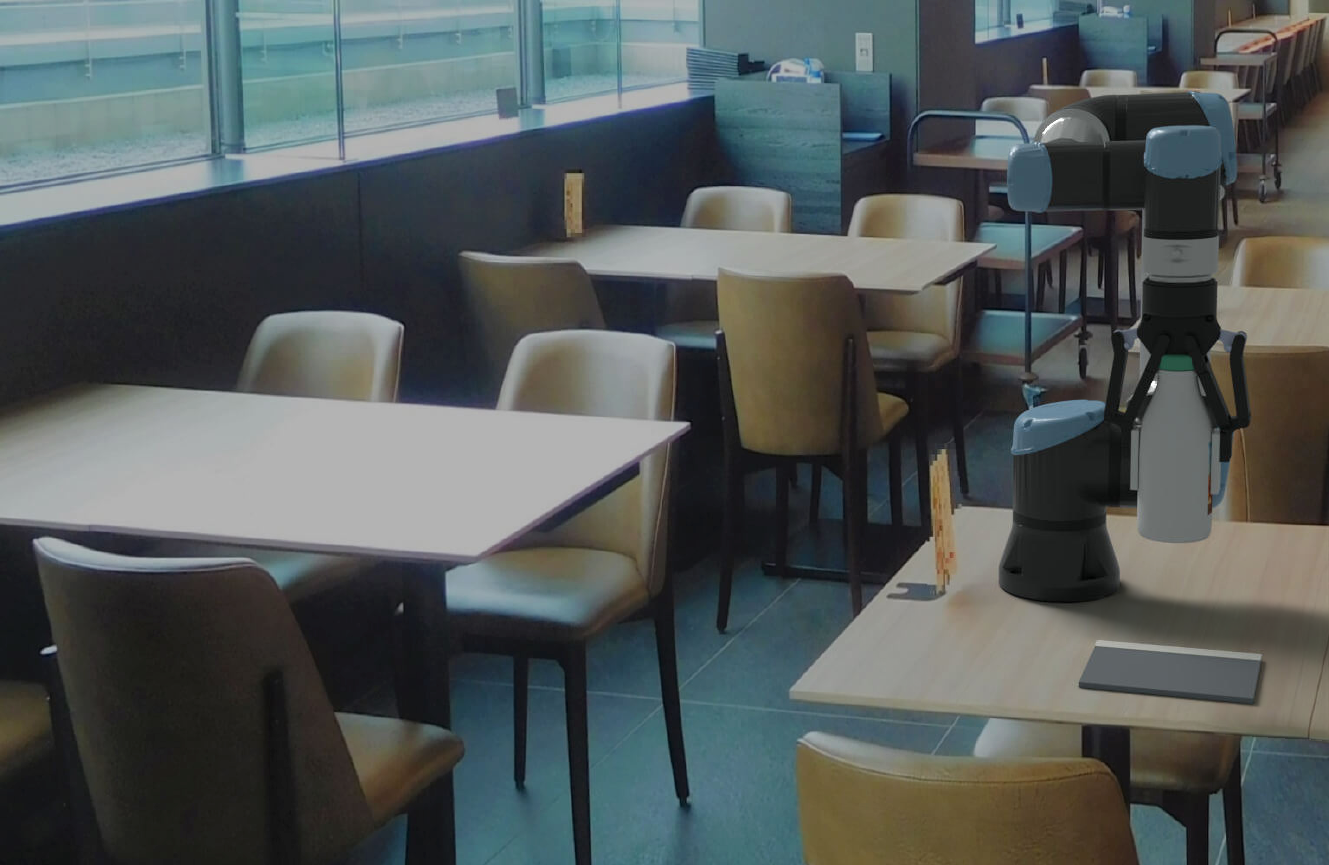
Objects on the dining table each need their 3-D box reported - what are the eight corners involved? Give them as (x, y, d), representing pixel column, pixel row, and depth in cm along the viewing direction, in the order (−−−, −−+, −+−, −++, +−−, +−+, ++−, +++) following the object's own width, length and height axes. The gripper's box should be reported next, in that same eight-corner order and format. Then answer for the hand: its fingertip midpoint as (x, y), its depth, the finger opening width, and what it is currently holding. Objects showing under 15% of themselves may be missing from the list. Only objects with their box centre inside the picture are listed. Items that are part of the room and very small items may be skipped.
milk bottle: (1200, 548, 186) (1205, 361, 182) (1127, 540, 190) (1130, 356, 186) (1219, 529, 193) (1225, 348, 188) (1149, 522, 197) (1153, 343, 192)
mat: (1078, 687, 193) (1078, 680, 193) (1097, 645, 205) (1097, 639, 205) (1253, 703, 186) (1253, 697, 186) (1261, 660, 198) (1261, 654, 198)
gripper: (1074, 280, 186) (1072, 492, 191) (1281, 283, 178) (1273, 503, 183) (1085, 270, 192) (1083, 475, 198) (1285, 272, 185) (1277, 485, 190)
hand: (1175, 488), depth 190 cm, fingers closed on milk bottle, 7 cm apart
